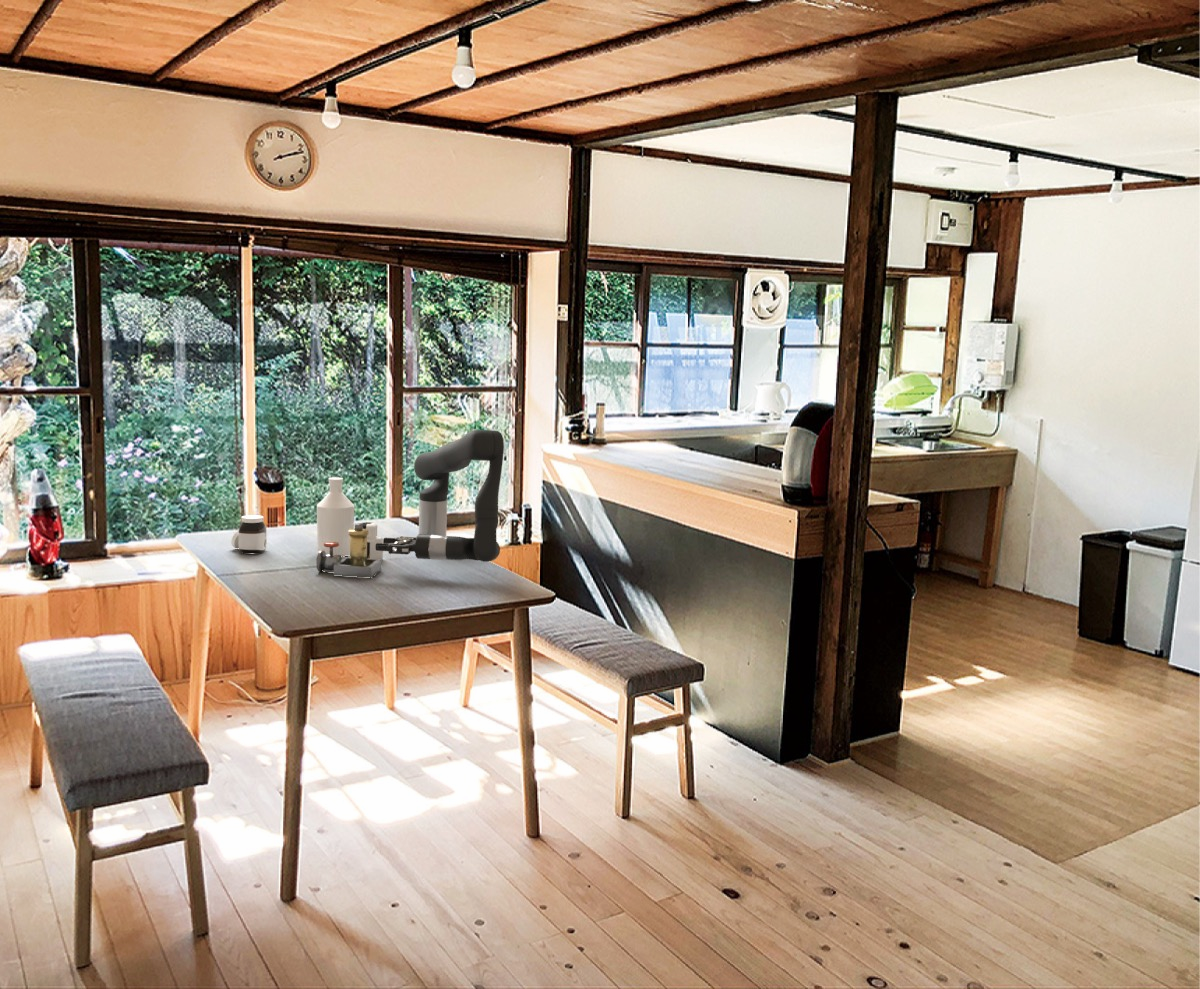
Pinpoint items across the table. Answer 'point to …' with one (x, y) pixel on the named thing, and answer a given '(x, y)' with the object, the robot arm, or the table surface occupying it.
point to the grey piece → (345, 564)
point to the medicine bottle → (372, 541)
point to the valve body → (358, 545)
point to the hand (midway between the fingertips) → (379, 543)
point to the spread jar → (251, 535)
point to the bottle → (335, 519)
